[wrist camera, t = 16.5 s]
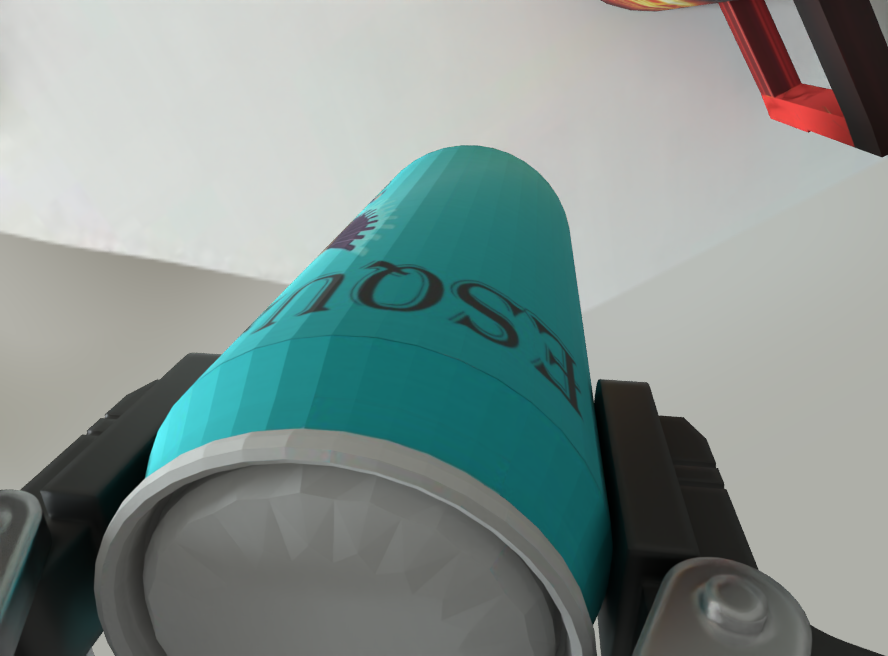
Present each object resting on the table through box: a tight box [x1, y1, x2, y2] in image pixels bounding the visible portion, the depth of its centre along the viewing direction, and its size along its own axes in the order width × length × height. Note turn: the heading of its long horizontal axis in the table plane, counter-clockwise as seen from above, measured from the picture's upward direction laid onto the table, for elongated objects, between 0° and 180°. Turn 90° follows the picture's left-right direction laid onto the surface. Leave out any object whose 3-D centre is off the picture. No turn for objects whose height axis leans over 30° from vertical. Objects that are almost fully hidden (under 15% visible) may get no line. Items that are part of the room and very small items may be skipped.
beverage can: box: [94, 145, 613, 656], centre depth 13 cm, size 6×6×15 cm
